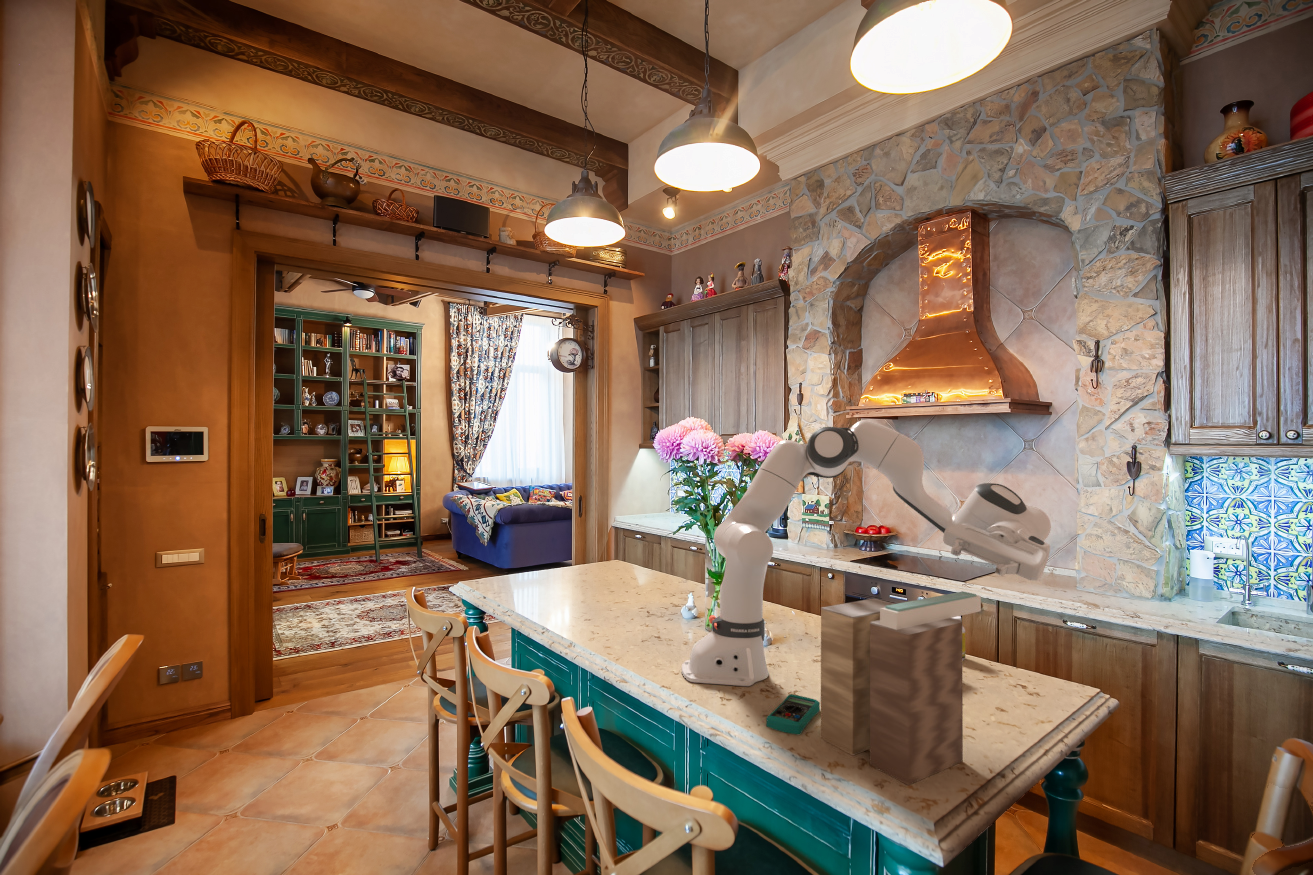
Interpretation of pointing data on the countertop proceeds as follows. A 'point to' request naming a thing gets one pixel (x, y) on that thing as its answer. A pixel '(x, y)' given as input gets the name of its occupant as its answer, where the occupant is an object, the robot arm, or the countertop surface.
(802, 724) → the digital multimeter
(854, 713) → the oak post
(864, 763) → the countertop surface
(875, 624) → the walnut post
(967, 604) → the bar
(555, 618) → the countertop surface
